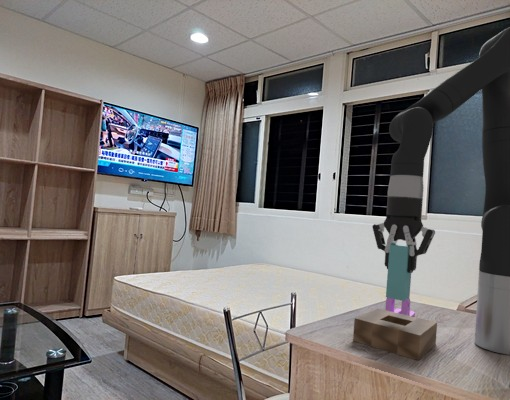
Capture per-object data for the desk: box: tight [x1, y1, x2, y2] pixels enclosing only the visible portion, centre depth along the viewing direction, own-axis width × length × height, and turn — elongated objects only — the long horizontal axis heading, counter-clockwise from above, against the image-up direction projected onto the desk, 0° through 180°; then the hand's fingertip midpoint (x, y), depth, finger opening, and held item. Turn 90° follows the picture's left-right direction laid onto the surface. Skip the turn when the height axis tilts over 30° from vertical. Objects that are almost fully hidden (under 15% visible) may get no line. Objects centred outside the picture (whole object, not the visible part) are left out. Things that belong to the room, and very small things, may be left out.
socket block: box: [352, 308, 438, 361], centre depth 84 cm, size 14×14×5 cm
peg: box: [385, 243, 412, 302], centre depth 85 cm, size 4×4×12 cm
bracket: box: [384, 297, 416, 317], centre depth 106 cm, size 13×6×7 cm, turn 144°
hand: (399, 270), depth 85 cm, fingers closed on peg, 4 cm apart
